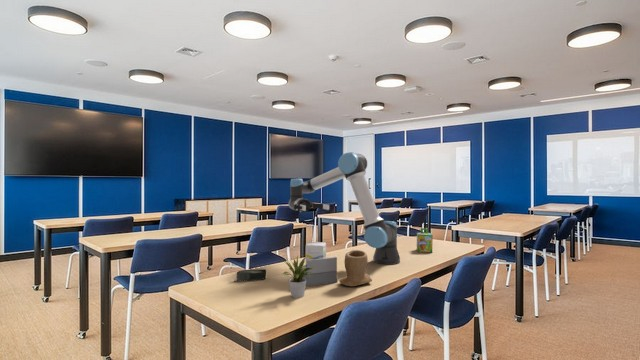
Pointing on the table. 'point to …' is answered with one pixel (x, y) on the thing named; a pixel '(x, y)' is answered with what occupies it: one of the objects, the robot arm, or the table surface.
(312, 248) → the ink box
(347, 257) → the stone cup
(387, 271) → the table surface
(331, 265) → the step
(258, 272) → the mobile phone
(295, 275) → the house plant
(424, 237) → the green juice carton
